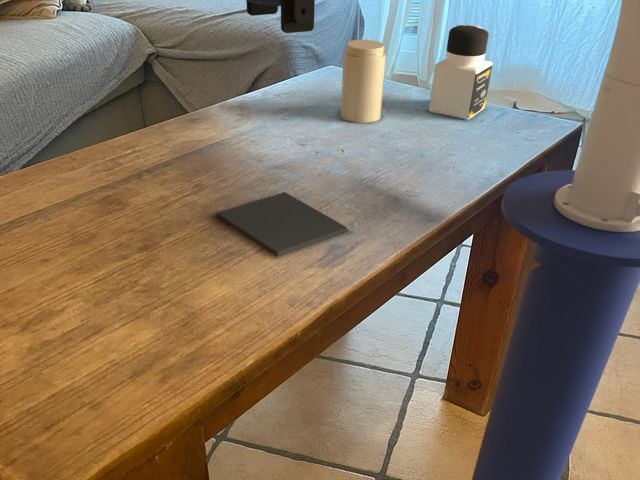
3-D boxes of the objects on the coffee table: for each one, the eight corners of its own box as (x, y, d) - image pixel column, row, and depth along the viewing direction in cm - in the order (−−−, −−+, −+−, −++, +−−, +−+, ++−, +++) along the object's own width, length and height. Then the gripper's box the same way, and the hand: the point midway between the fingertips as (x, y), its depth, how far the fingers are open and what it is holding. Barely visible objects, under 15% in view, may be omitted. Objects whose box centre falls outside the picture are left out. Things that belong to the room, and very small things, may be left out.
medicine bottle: (468, 120, 105) (483, 35, 97) (427, 112, 108) (438, 28, 100) (484, 109, 110) (500, 26, 102) (445, 100, 113) (457, 19, 104)
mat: (347, 231, 76) (347, 227, 76) (277, 256, 71) (277, 252, 71) (284, 195, 83) (284, 191, 83) (217, 216, 78) (216, 212, 78)
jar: (388, 117, 106) (395, 45, 99) (359, 125, 102) (363, 52, 96) (362, 107, 109) (366, 36, 102) (332, 114, 106) (335, 42, 99)
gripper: (192, -240, 56) (208, 6, 68) (284, -248, 45) (285, 48, 57) (272, -234, 59) (274, 2, 71) (377, -240, 48) (359, 40, 60)
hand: (279, 20), depth 64 cm, fingers closed on lid, 6 cm apart
